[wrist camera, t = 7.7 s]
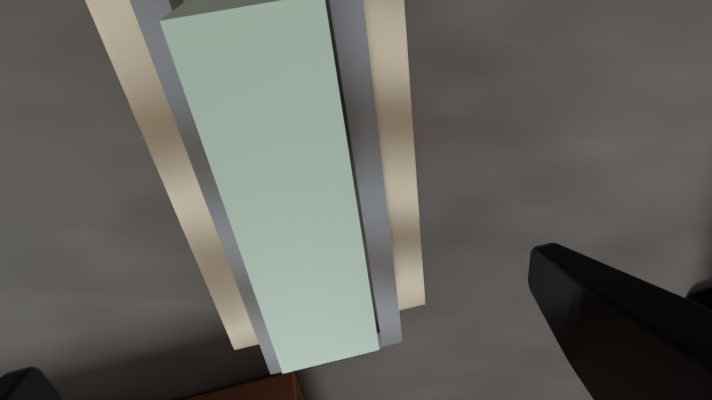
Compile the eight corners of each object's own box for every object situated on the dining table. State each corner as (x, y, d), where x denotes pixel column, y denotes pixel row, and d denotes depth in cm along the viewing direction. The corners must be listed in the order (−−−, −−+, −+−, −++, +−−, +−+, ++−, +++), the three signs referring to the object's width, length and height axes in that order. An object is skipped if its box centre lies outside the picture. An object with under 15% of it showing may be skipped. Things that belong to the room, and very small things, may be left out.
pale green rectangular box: (343, 224, 19) (379, 349, 13) (275, 239, 19) (282, 373, 13) (297, -28, 14) (324, -8, 8) (203, -12, 14) (159, 20, 8)
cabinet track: (419, 291, 24) (438, 333, 21) (235, 335, 23) (232, 384, 20) (373, -291, 12) (404, -354, 9) (-6, -248, 11) (-85, -306, 9)
